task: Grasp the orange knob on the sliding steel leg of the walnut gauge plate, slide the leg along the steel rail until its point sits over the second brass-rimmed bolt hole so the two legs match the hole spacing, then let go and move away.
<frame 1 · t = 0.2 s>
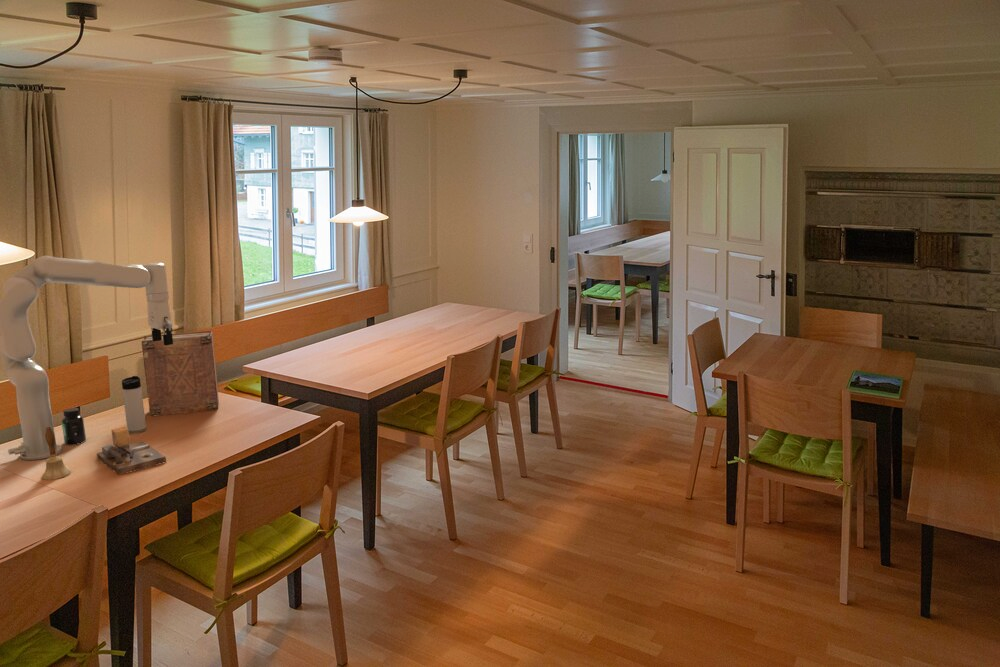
hand: (162, 342, 301), 31 cm above the table, tool pointing down, fingers open, 9 cm apart
gauge plate: (131, 460, 271), on the table
travel mug: (137, 431, 300), on the table
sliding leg: (124, 443, 269), point 7 cm above the table, slide at 4.0 cm
hand bell: (56, 475, 261), on the table
book: (185, 409, 324), on the table
supplement bottle: (75, 442, 290), on the table
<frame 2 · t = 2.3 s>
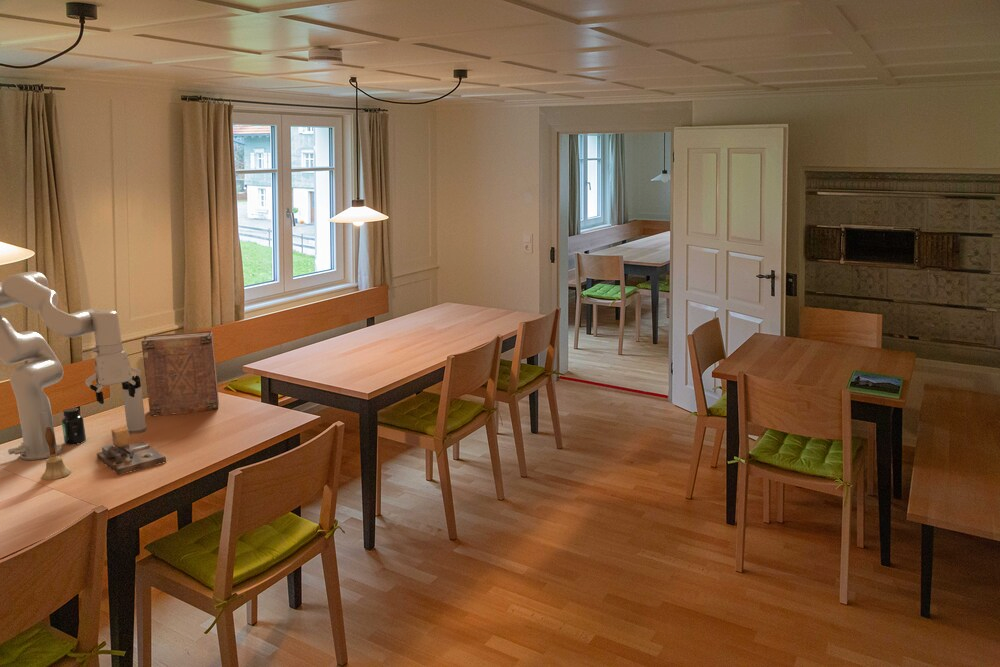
hand: (116, 399, 268), 21 cm above the table, tool pointing down, fingers open, 9 cm apart
nothing on the table moved.
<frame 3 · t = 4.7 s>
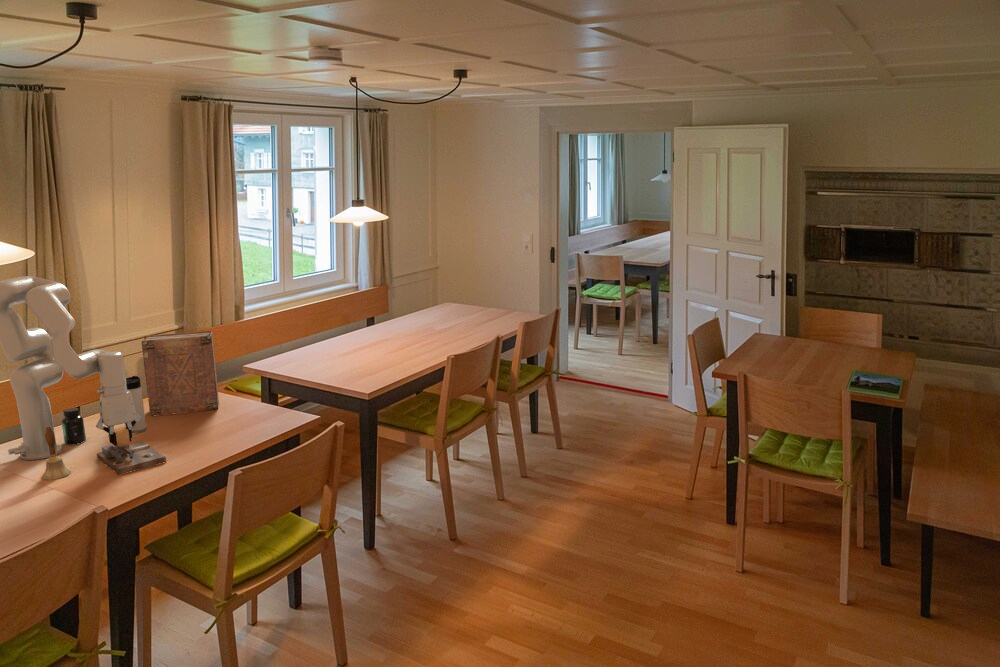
hand: (121, 441, 271), 6 cm above the table, tool pointing down, fingers closed on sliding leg, 4 cm apart
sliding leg: (124, 443, 269), point 7 cm above the table, slide at 4.0 cm, touching gripper
everything else where it was.
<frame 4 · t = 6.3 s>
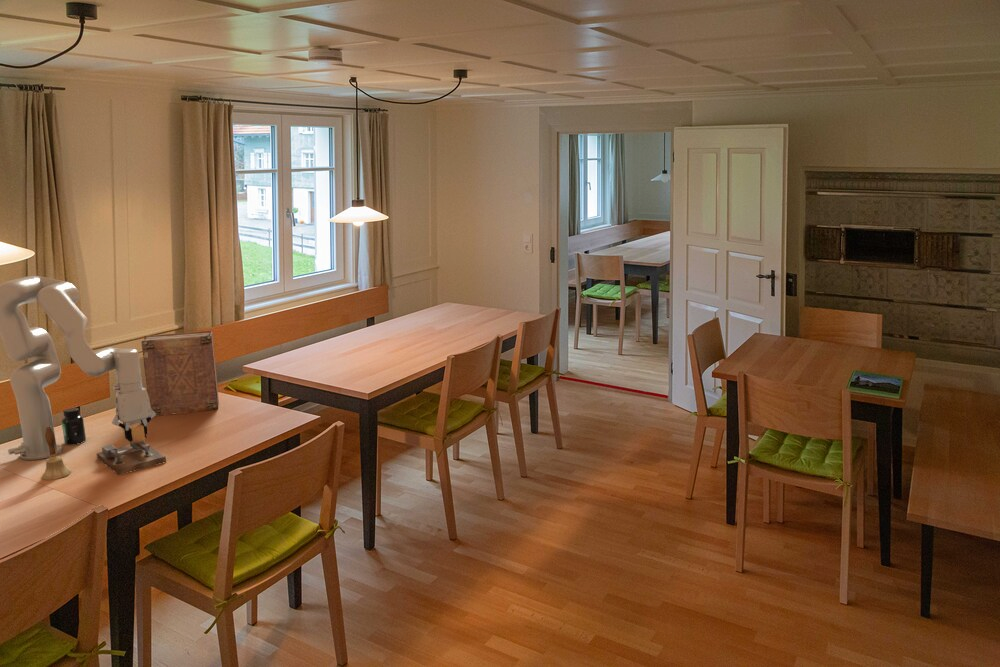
hand: (136, 438, 274), 6 cm above the table, tool pointing down, fingers closed on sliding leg, 4 cm apart
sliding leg: (140, 439, 272), point 7 cm above the table, slide at 9.0 cm, touching gripper
everything else where it was.
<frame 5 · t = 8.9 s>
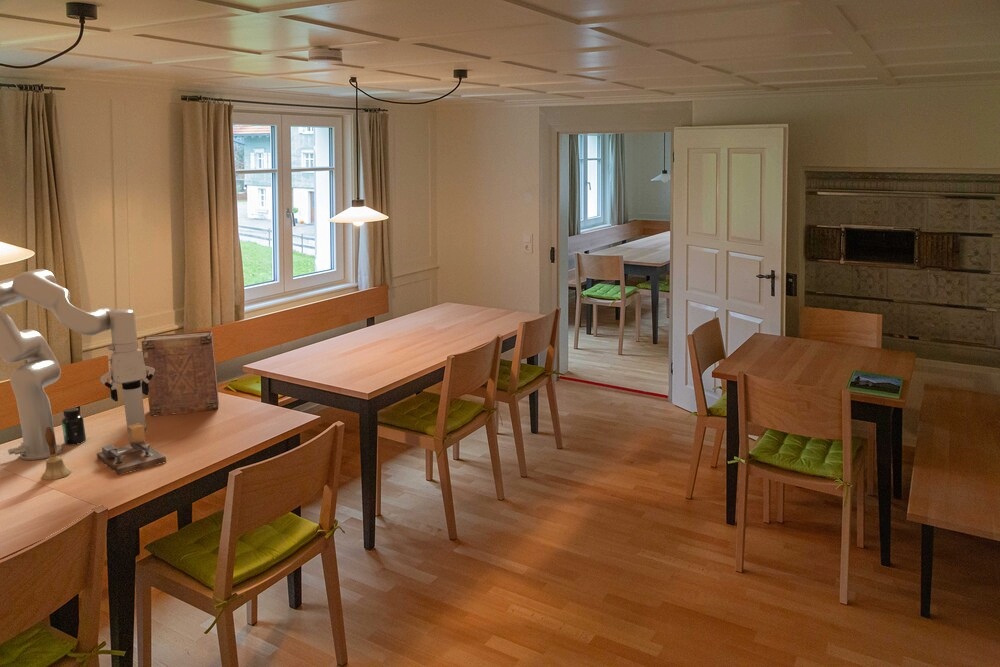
hand: (130, 397, 271), 20 cm above the table, tool pointing down, fingers open, 9 cm apart
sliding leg: (140, 439, 272), point 7 cm above the table, slide at 9.0 cm
everything else where it was.
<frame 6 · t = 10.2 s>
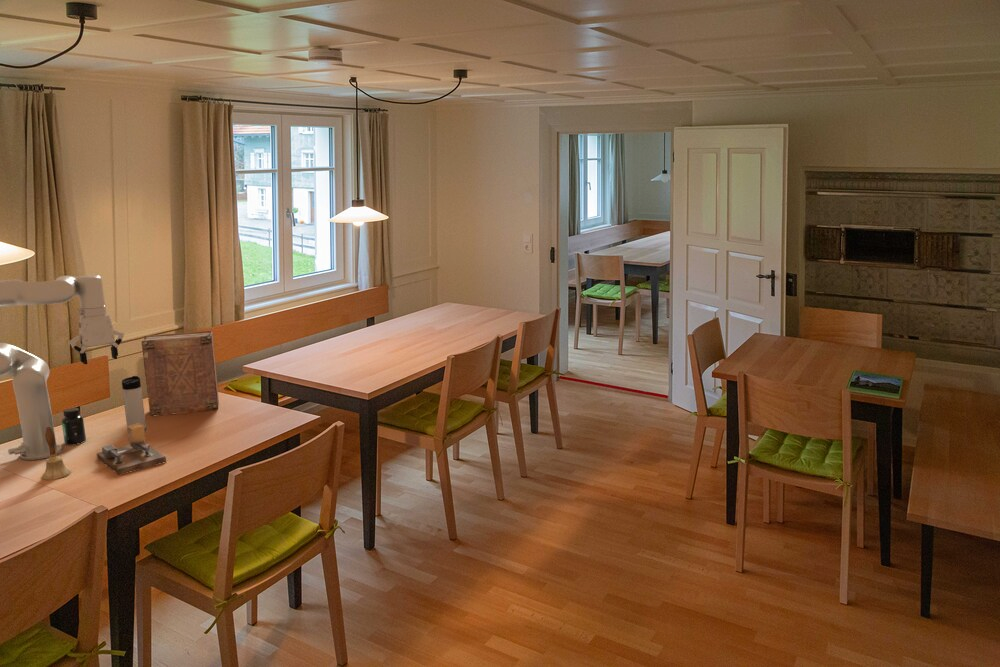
hand: (99, 361, 280), 30 cm above the table, tool pointing down, fingers open, 9 cm apart
nothing on the table moved.
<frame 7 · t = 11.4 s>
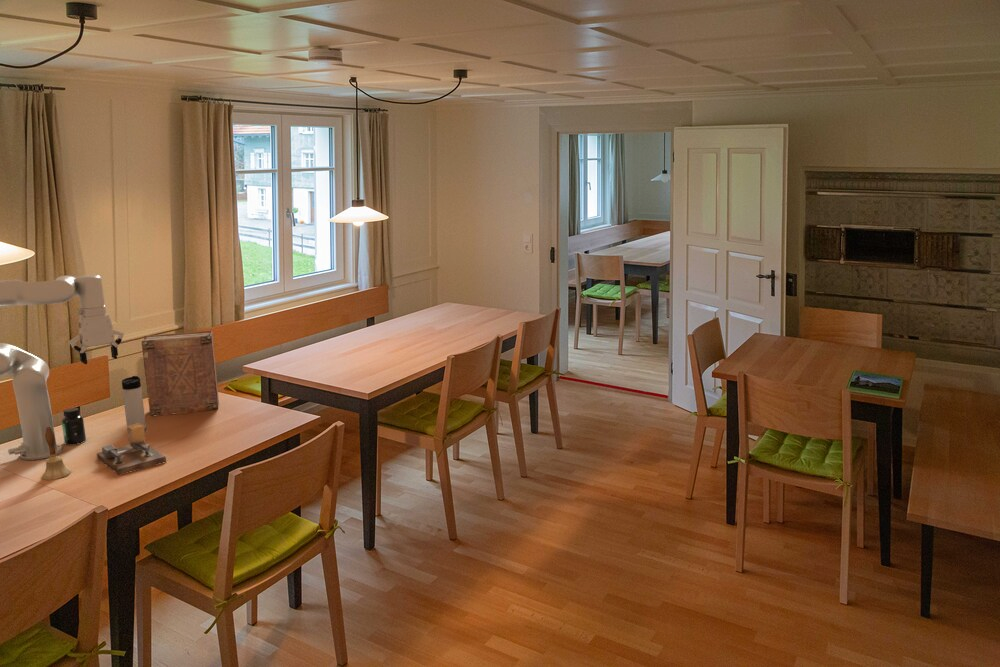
hand: (99, 360, 280), 30 cm above the table, tool pointing down, fingers open, 9 cm apart
nothing on the table moved.
at the end: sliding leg slide at 9.0 cm; the gripper is holding nothing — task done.
